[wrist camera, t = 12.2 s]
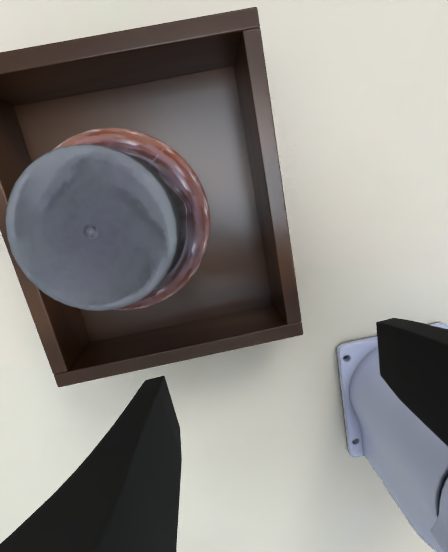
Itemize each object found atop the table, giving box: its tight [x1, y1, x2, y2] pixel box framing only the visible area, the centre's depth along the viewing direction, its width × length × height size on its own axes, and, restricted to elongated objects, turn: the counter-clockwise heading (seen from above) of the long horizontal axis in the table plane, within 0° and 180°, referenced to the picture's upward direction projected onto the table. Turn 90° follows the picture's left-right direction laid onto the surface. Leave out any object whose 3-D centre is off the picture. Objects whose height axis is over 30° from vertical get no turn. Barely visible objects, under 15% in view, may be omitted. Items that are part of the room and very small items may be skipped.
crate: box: [0, 7, 303, 387], centre depth 17 cm, size 16×14×4 cm
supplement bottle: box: [6, 128, 211, 311], centre depth 13 cm, size 6×6×11 cm
